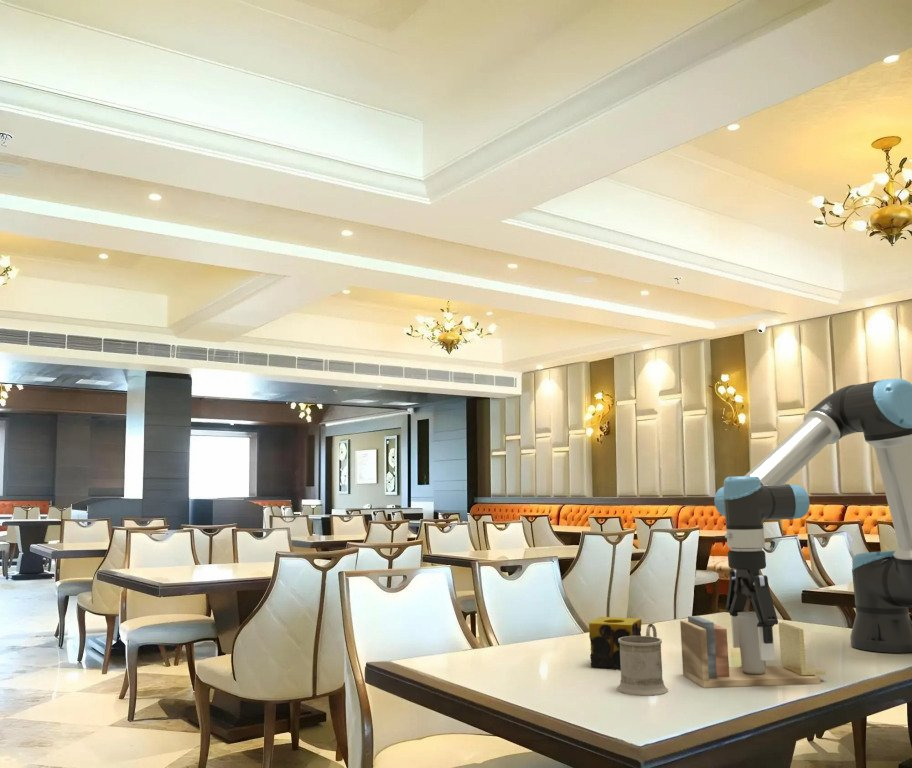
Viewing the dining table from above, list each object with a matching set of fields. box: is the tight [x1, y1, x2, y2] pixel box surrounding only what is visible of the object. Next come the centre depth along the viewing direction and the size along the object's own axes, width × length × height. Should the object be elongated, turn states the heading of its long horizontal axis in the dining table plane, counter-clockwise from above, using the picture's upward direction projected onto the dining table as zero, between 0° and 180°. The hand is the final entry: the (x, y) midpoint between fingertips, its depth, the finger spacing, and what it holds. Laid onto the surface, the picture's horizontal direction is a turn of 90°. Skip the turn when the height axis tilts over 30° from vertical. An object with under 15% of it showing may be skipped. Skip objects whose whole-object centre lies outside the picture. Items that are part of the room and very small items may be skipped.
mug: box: [616, 622, 669, 697], centre depth 165 cm, size 14×10×12 cm
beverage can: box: [737, 611, 767, 674], centre depth 171 cm, size 5×5×12 cm
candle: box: [588, 616, 642, 671], centre depth 187 cm, size 10×10×10 cm
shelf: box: [679, 615, 821, 689], centre depth 171 cm, size 24×12×12 cm, turn 94°
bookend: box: [778, 622, 826, 676], centre depth 171 cm, size 5×9×9 cm, turn 4°
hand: (753, 653), depth 171 cm, fingers open, 13 cm apart
